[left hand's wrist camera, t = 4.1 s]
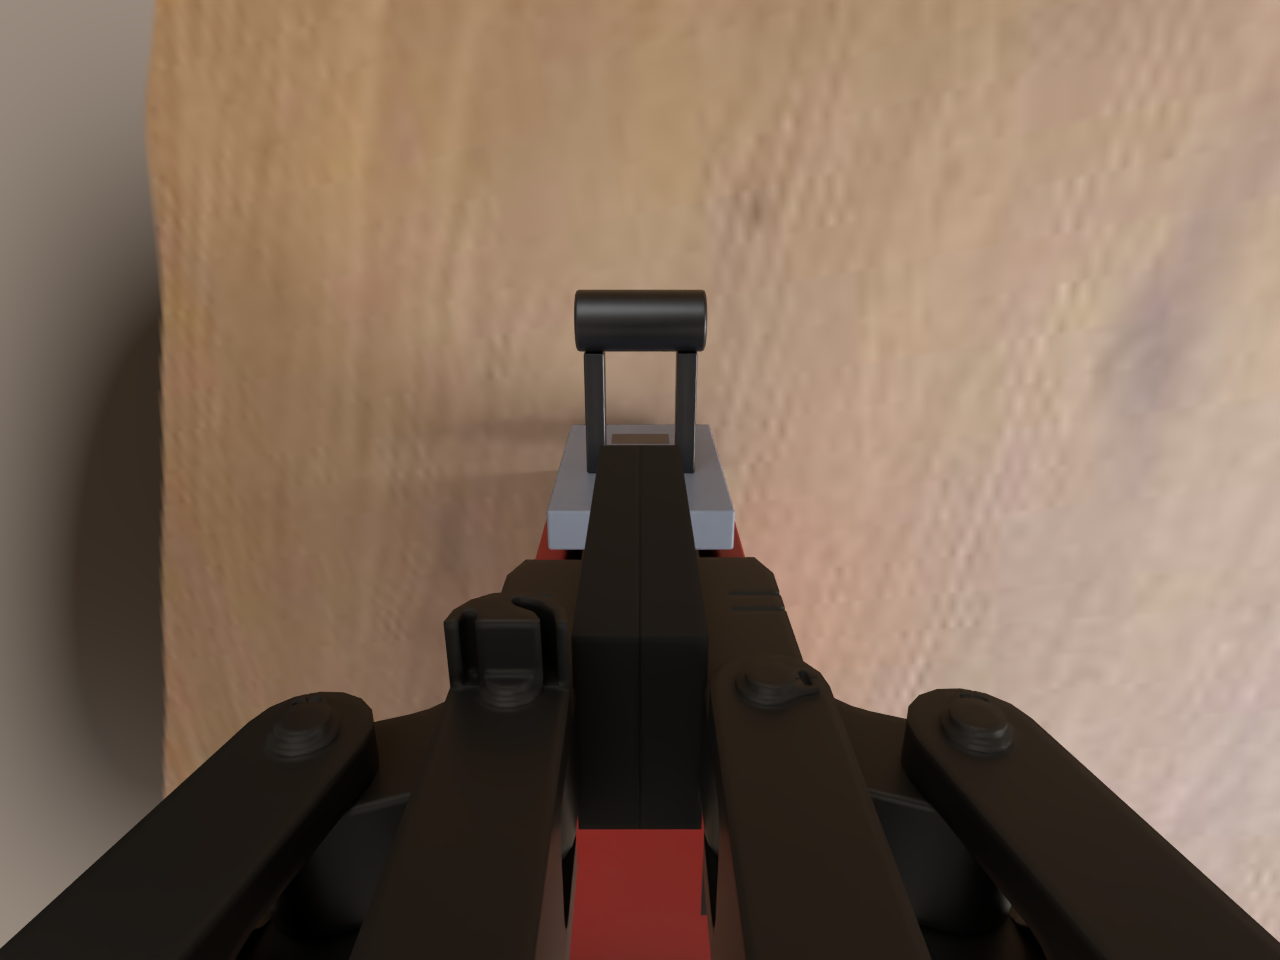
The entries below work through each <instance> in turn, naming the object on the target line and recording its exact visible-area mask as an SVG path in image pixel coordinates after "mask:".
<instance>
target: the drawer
mask: <svg viewBox="0 0 1280 960" xmlns="http://www.w3.org/2000/svg"><path fill="white" fill-rule="evenodd" d="M574 329H575V343H576V348H577V350H578V351H585V353H584V383H585V421H586V425H571V428H570V432H569V435H568V439H567V442H566V446H565V449H564V453H563V456H562V460H561V463H560V467H559V470H558V474H557V478H556V481H555V485H554V488H553V492H552V495H551V499H550V502H549V506H548V509H547V532H548V547H549V549H551V550H582V556H581V560H583V555H584V549H585V542H586V536H587V529H588V523H589V516H590V510H591V503H592V496H593V490H594V483H595V477H596V470H597V464H598V457H599V450H600V445H680V450H681V457H682V464H683V470H684V477H685V483H686V490H687V496H688V503H689V510H690V516H691V523H692V529H693V536H694V542H695V549H696V555H697V557H700V555H699V550H730V549H732V548H733V543H734V522H735V511H734V508H733V504H732V501H731V497H730V494H729V490H728V487H727V484H726V480H725V477H724V473H723V470H722V467H721V463H720V460H719V456H718V453H717V450H716V446H715V443H714V439H713V436H712V432H711V429H710V426H709V425H696V394H697V357H698V354H697V351H703V350H704V348H705V345H706V335H707V298H706V293H705V291H704V290H578V291H576V294H575V302H574ZM605 351H676V386H675V425H606V378H605Z"/></svg>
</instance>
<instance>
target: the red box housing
mask: <svg viewBox="0 0 1280 960" xmlns="http://www.w3.org/2000/svg"><path fill="white" fill-rule="evenodd" d="M699 555H700V557H745V555H744V552H743V548H742V545H741V541H740V538H739V534H738V531H737V527H736V524H735V522H734V543H733V548H732V549H730V550H699ZM581 556H582V550H551V549H549V547H548V532H547V520H546V523H545V527H544V531H543V534H542V538H541V541H540V545H539V549H538V552H537V556H536V559H535V560H581ZM576 845H577V877H576V888H575V899H574V911H573V922H572V933H571V944H570V956H569V960H711V955H710V943H709V932H708V921H707V915H701V896H702V870H703V845H704V825H703V815H702V829H578V819H577V829H576Z"/></svg>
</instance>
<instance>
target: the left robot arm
mask: <svg viewBox="0 0 1280 960" xmlns="http://www.w3.org/2000/svg"><path fill="white" fill-rule="evenodd" d="M444 631H445V641H446V650H447V659H448V669H449V678H450V690H449V692H448V695H447V698H446V700H445V702H443V703H441V704H439V705H437V706H434V707H432V708H430V709H427V710H424V711H420V712H417V713H413V714H410V715H405V716H401V717H396V718H391V719H387V720H382V721H377V722H374V720H373V714H372V709H371V708H370V707H369V706H368V705H367V704H366V703H365V702H364V701H363V700H362V699H361V698H358V697H355V696H352V695H350V694H347V693H344V692H317V693H311V694H307V695H306V694H305V695H301V696H297V697H293V698H291V699H289V700H286V701H284V702H281V703H279V704H276V705H274V706H272V707H270V708H268V709H267V710H265V711H264V712H262V713H261V714H260V715H258V716H257V717H255V718H254V719H252V720H251V721H250V722H248V723H247V724H246V725H245V726H244V727H243V728H242V729H241V730H240V731H239V732H237V733H236V734H235V735H234V736H233V737H232V738H231V739H230V740H229V741H228V742H226V743H225V744H224V745H223V746H222V747H221V748H220V749H219V750H218V751H217V752H215V753H214V754H213V755H212V756H211V757H210V758H209V759H208V760H207V761H206V762H205V763H203V764H202V765H201V766H200V767H199V768H198V769H197V770H196V771H195V772H194V773H192V774H191V775H190V776H189V777H188V778H187V779H186V780H185V781H184V782H183V783H181V784H180V785H179V786H178V787H177V788H176V789H175V790H174V791H173V792H172V793H171V794H169V795H168V796H167V797H166V798H165V799H164V800H163V801H162V802H161V803H160V804H159V805H157V806H156V807H155V808H154V809H153V810H152V811H151V812H150V813H149V814H147V815H146V816H145V817H144V818H143V819H142V820H141V821H140V822H139V823H138V824H137V825H135V826H134V827H133V828H132V829H131V830H130V831H129V832H128V833H127V834H126V835H124V836H123V837H122V838H121V839H120V840H119V841H118V842H117V843H116V844H115V845H114V846H112V847H111V848H110V849H109V850H108V851H107V852H106V853H105V854H104V855H103V856H101V857H100V858H99V859H98V860H97V861H96V862H95V863H94V864H93V865H92V866H90V867H89V868H88V869H87V870H86V871H85V872H84V873H83V874H82V875H81V876H79V877H78V878H77V879H76V880H75V881H74V882H73V883H72V884H71V885H70V886H69V887H67V888H66V889H65V890H64V891H63V892H62V893H61V894H60V895H59V896H58V897H56V898H55V899H54V900H53V901H52V902H51V903H50V904H49V905H48V906H47V907H45V908H44V909H43V910H42V911H41V912H40V913H39V914H38V915H37V916H36V917H35V918H33V919H32V920H31V921H30V922H29V923H28V924H27V925H26V926H25V927H24V928H22V929H21V930H20V931H19V932H18V933H17V934H16V935H15V936H14V937H13V938H11V939H10V940H9V941H8V942H7V943H6V944H5V945H4V946H3V947H2V948H1V949H0V960H569V956H570V944H571V933H572V922H573V911H574V899H575V888H576V877H577V845H576V829H577V819H578V829H702V815H703V825H704V845H703V870H702V896H701V915H707V921H708V932H709V943H710V955H711V960H1280V943H1279V942H1278V941H1277V940H1276V939H1275V938H1274V937H1273V936H1272V935H1271V934H1269V933H1268V932H1267V931H1266V930H1265V929H1264V928H1263V927H1262V926H1261V925H1260V924H1258V923H1257V922H1256V921H1255V920H1254V919H1253V918H1252V917H1251V916H1250V915H1248V914H1247V913H1246V912H1245V911H1244V910H1243V909H1242V908H1241V907H1240V906H1239V905H1237V904H1236V903H1235V902H1234V901H1233V900H1232V899H1231V898H1230V897H1229V896H1227V895H1226V894H1225V893H1224V892H1223V891H1222V890H1221V889H1220V888H1219V887H1218V886H1216V885H1215V884H1214V883H1213V882H1212V881H1211V880H1210V879H1209V878H1208V877H1206V876H1205V875H1204V874H1203V873H1202V872H1201V871H1200V870H1199V869H1198V868H1197V867H1195V866H1194V865H1193V864H1192V863H1191V862H1190V861H1189V860H1188V859H1187V858H1185V857H1184V856H1183V855H1182V854H1181V853H1180V852H1179V851H1178V850H1177V849H1176V848H1174V847H1173V846H1172V845H1171V844H1170V843H1169V842H1168V841H1167V840H1166V839H1164V838H1163V837H1162V836H1161V835H1160V834H1159V833H1158V832H1157V831H1156V830H1155V829H1153V828H1152V827H1151V826H1150V825H1149V824H1148V823H1147V822H1146V821H1145V820H1143V819H1142V818H1141V817H1140V816H1139V815H1138V814H1137V813H1136V812H1135V811H1134V810H1132V809H1131V808H1130V807H1129V806H1128V805H1127V804H1126V803H1125V802H1124V801H1122V800H1121V799H1120V798H1119V797H1118V796H1117V795H1116V794H1115V793H1114V792H1113V791H1111V790H1110V789H1109V788H1108V787H1107V786H1106V785H1105V784H1104V783H1103V782H1101V781H1100V780H1099V779H1098V778H1097V777H1096V776H1095V775H1094V774H1093V773H1092V772H1090V771H1089V770H1088V769H1087V768H1086V767H1085V766H1084V765H1083V764H1082V763H1080V762H1079V761H1078V760H1077V759H1076V758H1075V757H1074V756H1073V755H1072V754H1071V753H1069V752H1068V751H1067V750H1066V749H1065V748H1064V747H1063V746H1062V745H1061V744H1059V743H1058V742H1057V741H1056V740H1055V739H1054V738H1053V737H1052V736H1051V735H1050V734H1048V733H1047V732H1046V731H1045V730H1044V729H1043V728H1042V727H1041V726H1040V725H1038V724H1037V723H1036V722H1035V721H1034V720H1033V719H1032V718H1031V717H1029V716H1028V715H1026V714H1025V713H1023V712H1022V711H1020V710H1019V709H1018V708H1016V707H1015V706H1013V705H1012V704H1010V703H1008V702H1005V701H1003V700H1000V699H998V698H996V697H993V696H991V695H988V694H986V693H981V692H977V691H971V690H965V689H960V688H959V689H936V690H933V691H930V692H927V693H924V694H921V695H919V696H918V697H917V698H916V699H915V700H914V701H913V702H912V703H911V704H910V705H909V707H908V714H907V719H904V718H899V717H895V716H890V715H885V714H880V713H876V712H871V711H867V710H864V709H860V708H857V707H853V706H851V705H848V704H846V703H844V702H842V701H840V700H837V699H835V698H834V697H833V694H832V691H831V689H830V686H829V685H828V683H827V682H826V680H825V679H824V677H823V676H822V675H821V673H820V672H818V671H817V670H816V669H814V668H813V667H811V666H810V665H808V664H807V663H805V662H804V661H803V659H802V656H801V653H800V650H799V647H798V644H797V641H796V639H795V636H794V633H793V630H792V627H791V624H790V621H789V618H788V615H787V612H786V611H785V606H784V603H783V601H782V598H781V595H779V589H778V586H777V583H776V580H775V577H774V574H773V573H772V572H771V571H770V570H769V569H768V568H766V567H765V566H764V565H763V564H762V563H760V562H759V561H758V560H757V559H756V558H755V557H697V555H696V549H695V542H694V536H693V529H692V523H691V516H690V510H689V503H688V496H687V490H686V483H685V477H684V470H683V464H682V457H681V450H680V445H600V450H599V457H598V464H597V470H596V477H595V483H594V490H593V496H592V503H591V510H590V516H589V523H588V529H587V536H586V542H585V549H584V555H583V560H525V561H524V562H523V563H521V564H520V565H519V566H518V567H517V568H515V569H514V570H513V571H512V572H511V573H510V574H508V575H507V577H506V580H505V583H504V586H503V589H502V592H501V593H493V594H489V595H486V596H482V597H479V598H476V599H472V600H470V601H468V602H466V603H465V604H463V605H461V606H459V607H458V608H456V609H454V610H453V611H452V612H451V614H450V615H449V616H448V617H447V619H446V620H445V621H444Z"/></svg>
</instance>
